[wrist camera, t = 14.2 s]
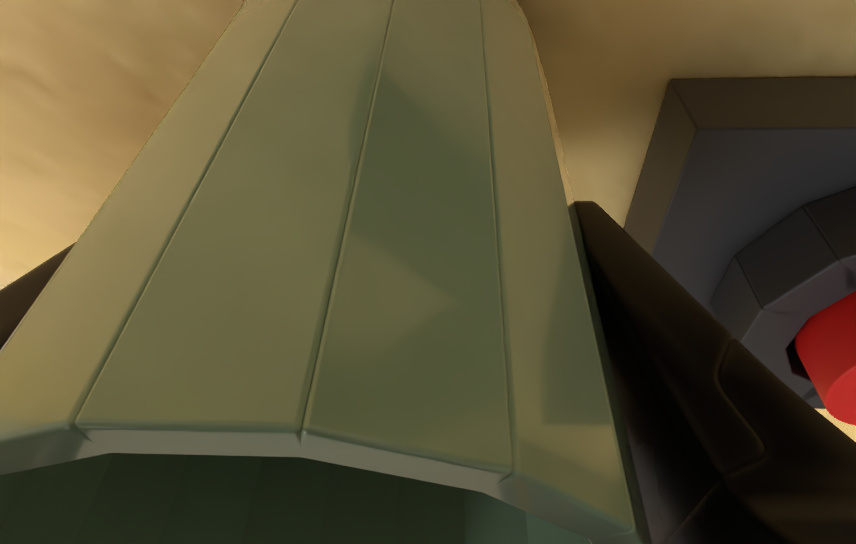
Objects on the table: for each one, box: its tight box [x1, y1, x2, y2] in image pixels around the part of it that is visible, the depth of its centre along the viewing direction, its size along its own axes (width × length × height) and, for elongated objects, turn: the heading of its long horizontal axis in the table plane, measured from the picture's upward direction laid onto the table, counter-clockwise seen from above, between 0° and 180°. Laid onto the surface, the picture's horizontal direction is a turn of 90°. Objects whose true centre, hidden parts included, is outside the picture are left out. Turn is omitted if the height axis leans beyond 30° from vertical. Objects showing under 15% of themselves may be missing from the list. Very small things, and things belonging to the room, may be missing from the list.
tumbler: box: [0, 0, 652, 544], centre depth 9 cm, size 7×7×10 cm
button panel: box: [624, 77, 856, 409], centre depth 14 cm, size 11×9×4 cm
